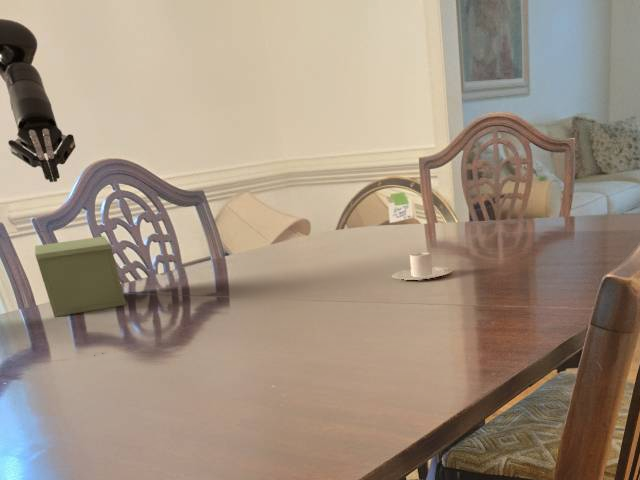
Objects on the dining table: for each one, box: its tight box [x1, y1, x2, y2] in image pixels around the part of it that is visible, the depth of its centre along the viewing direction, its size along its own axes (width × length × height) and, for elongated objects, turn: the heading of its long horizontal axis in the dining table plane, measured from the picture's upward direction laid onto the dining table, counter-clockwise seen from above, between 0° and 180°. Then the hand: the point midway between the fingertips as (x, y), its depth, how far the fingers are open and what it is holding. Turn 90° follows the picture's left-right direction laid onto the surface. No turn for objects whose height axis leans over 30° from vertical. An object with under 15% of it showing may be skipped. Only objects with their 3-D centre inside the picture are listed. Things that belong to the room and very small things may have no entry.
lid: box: [34, 236, 113, 260], centre depth 154 cm, size 17×14×1 cm
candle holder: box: [391, 251, 453, 282], centre depth 151 cm, size 12×12×4 cm
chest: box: [36, 248, 127, 318], centre depth 157 cm, size 16×14×11 cm
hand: (52, 178), depth 153 cm, fingers closed
